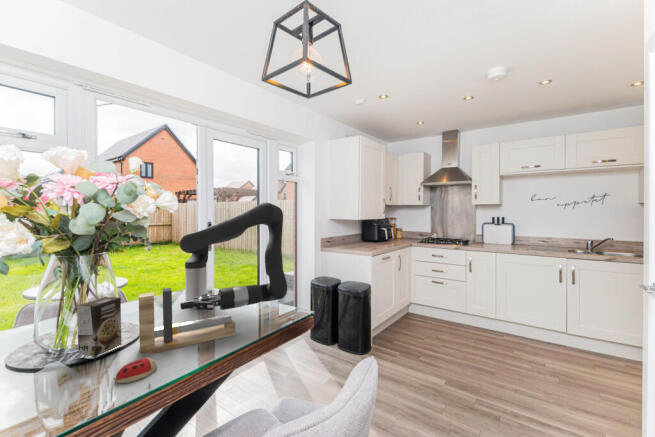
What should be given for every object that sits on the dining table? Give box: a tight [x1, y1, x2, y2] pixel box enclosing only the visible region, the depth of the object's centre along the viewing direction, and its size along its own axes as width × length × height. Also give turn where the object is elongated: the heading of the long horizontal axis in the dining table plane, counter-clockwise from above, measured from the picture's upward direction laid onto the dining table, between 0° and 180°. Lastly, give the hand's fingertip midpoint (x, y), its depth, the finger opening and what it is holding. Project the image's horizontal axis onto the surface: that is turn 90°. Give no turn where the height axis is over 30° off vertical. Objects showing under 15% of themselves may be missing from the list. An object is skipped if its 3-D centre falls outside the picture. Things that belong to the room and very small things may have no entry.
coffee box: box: [77, 296, 122, 357], centre depth 90 cm, size 9×6×16 cm
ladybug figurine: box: [113, 357, 158, 384], centre depth 78 cm, size 7×10×4 cm
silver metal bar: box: [154, 313, 233, 338], centre depth 100 cm, size 3×26×3 cm, turn 122°
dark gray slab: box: [162, 287, 173, 342], centre depth 96 cm, size 5×2×16 cm, turn 32°
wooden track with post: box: [138, 292, 237, 355], centre depth 99 cm, size 9×29×17 cm, turn 122°
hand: (180, 305), depth 98 cm, fingers closed
